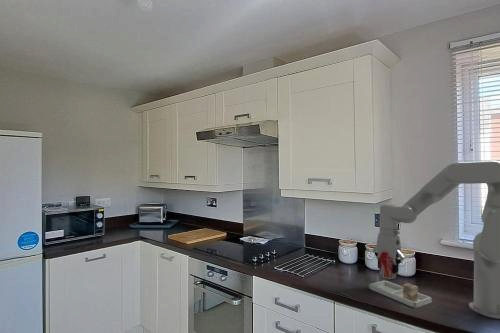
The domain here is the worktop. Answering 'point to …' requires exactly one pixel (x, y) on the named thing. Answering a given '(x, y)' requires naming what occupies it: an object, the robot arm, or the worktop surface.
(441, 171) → the robot arm
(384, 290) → the organiser tray
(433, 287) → the worktop surface
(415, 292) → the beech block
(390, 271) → the soda can
